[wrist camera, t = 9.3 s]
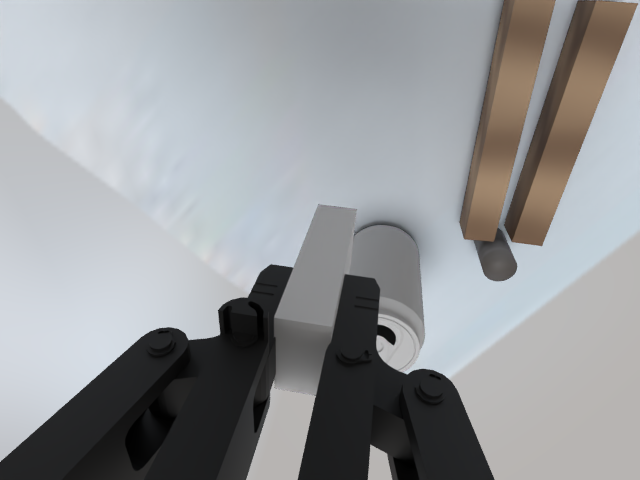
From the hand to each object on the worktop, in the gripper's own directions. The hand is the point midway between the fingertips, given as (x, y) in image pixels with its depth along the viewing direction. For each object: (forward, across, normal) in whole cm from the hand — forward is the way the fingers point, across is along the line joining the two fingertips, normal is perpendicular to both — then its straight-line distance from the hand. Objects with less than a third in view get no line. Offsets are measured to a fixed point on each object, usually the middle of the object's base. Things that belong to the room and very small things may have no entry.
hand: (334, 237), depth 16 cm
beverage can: (+18, +3, -12) cm, 22 cm away
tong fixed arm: (+18, +12, -1) cm, 22 cm away
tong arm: (+18, +9, 0) cm, 20 cm away
